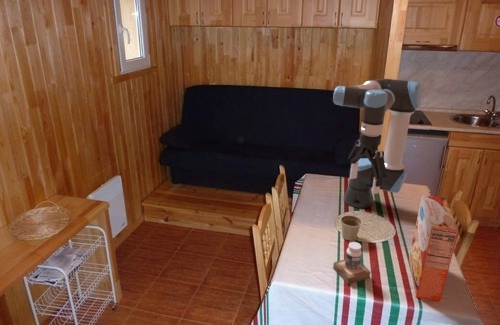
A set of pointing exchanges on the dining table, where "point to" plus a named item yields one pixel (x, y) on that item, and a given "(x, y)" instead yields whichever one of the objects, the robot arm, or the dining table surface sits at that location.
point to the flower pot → (350, 226)
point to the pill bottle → (353, 256)
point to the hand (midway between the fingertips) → (363, 185)
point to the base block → (351, 272)
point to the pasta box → (432, 247)
